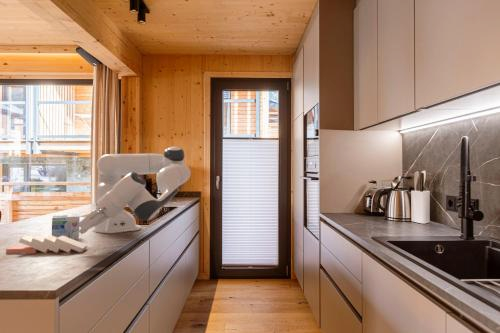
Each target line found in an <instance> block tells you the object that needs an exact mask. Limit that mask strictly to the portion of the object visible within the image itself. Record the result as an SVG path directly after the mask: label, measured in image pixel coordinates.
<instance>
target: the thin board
mask: <svg viewBox="0 0 500 333" xmlns="http://www.w3.org/2000/svg"><path fill="white" fill-rule="evenodd" d="M101 248H102V247H101V246H99V247H95V246H94V247H90V246H87V247H86V249H85V250H84V251H82V252H78V251H76V250H72V251H71V252H69V253H68V252H66V251H63V250H61V251H59V252H58V253H56V252H54V251H51V250H50V251H48V252H46V253H45V252H42V251H39V252H37V253H22V256H53V255H55V256H58V255H59V256H61V255H63V256H65V255H67V256H68V255H69V256H71V255H74V256H75V255H93V254H94V253H96V252H97V251H98V250H100V249H101Z"/></svg>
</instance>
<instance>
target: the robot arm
mask: <svg viewBox="0 0 500 333" xmlns="http://www.w3.org/2000/svg"><path fill="white" fill-rule="evenodd" d="M96 169H97V172H98V173H97V174H98V176H97V192H96V194H97V196H96V203H95V209H93V210H91V212H89V214H87V215H86V216H85V217H84V218H83V219H81V221H79V224H78V225H79V234H81V235H84V234H85V233H87V232H88V231H89V230H90V229H92V228H93V230H92V231H93V232H95V233H101V234H102V233H103V234H114V233H116V234H117V233H124V232H131V231H132V232H133V231H139V230H141V226H140V224H137V223H136V218H137V219H138V220H139V221H145V222H146V221H150V220H152V219H153V218H154V217H156V215H157V214H158V213H159V211H161V209H164V207H165V206H166V205H167V204H168V203H170V202H171V200H172V199H174V198H175V196H176V195H177V193H178V192H179V188H181V187H182V186H184V184H185V183H186V182H187V181H188V180H189V179H190V177H191V169H190V167H189V166H188V165H187V164H186V162H185V152H184V150H183V149H182V147H178V146H170V147H167V148H165V150H163V154H160V153H150V152H149V153H107V154H103V155H102V156H101V155H100V157H99V158H98V159H97V161H96ZM154 174H156V180H155V181H156V185H157V187H158V190H160V193H161V195H160V196H159V197H158V198H155V197H154V196H153V195H152V194H151V193H150V192H149V191H148V190H147V189H146V184H147V182H146V180H145V179H144V177H143V176H142V175H154ZM122 176H124V177H122ZM127 207H128V208H129V209H130V210H131V211H132V212H133V214H134V215H135V216H134V215H133V214H132V213H130V212H129V211H127V210H126V209H125V208H127ZM135 217H136V218H135Z"/></svg>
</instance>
